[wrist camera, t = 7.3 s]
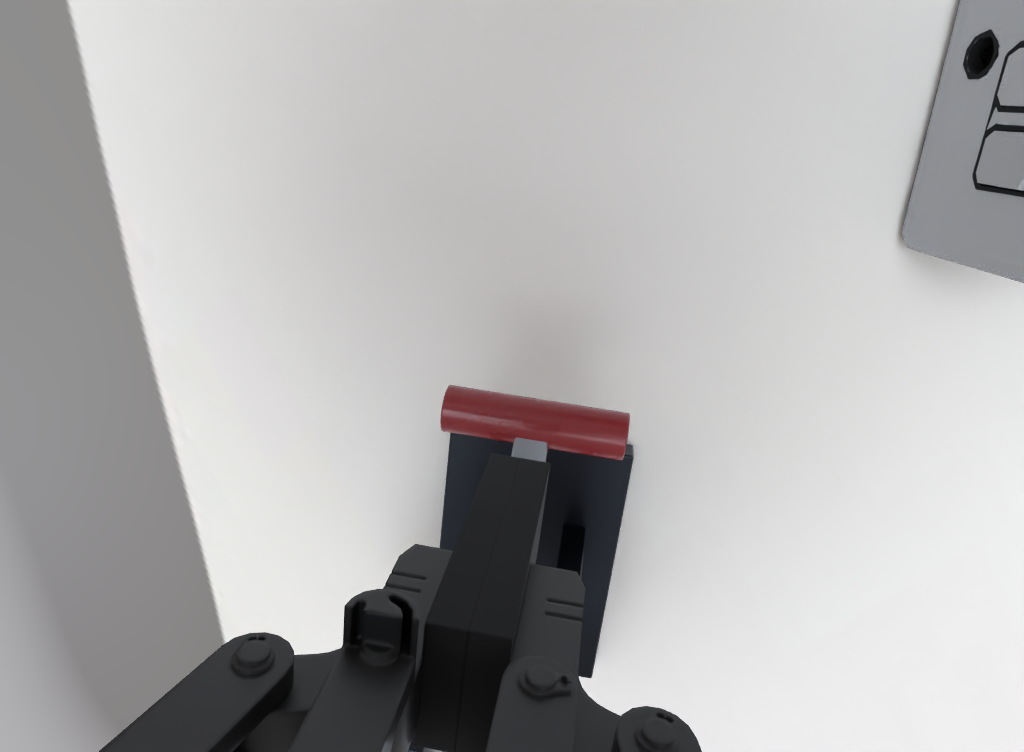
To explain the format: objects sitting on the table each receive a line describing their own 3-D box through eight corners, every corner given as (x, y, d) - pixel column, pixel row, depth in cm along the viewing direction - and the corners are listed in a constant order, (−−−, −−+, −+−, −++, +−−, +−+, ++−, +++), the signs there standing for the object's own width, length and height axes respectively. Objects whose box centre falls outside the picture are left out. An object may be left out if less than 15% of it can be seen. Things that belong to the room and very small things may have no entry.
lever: (455, 388, 26) (444, 380, 24) (626, 416, 26) (632, 410, 23) (386, 780, 25) (367, 814, 22) (566, 818, 24) (566, 856, 22)
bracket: (456, 416, 34) (341, 626, 20) (633, 445, 33) (641, 683, 19) (435, 632, 38) (328, 929, 24) (592, 662, 37) (574, 985, 24)
